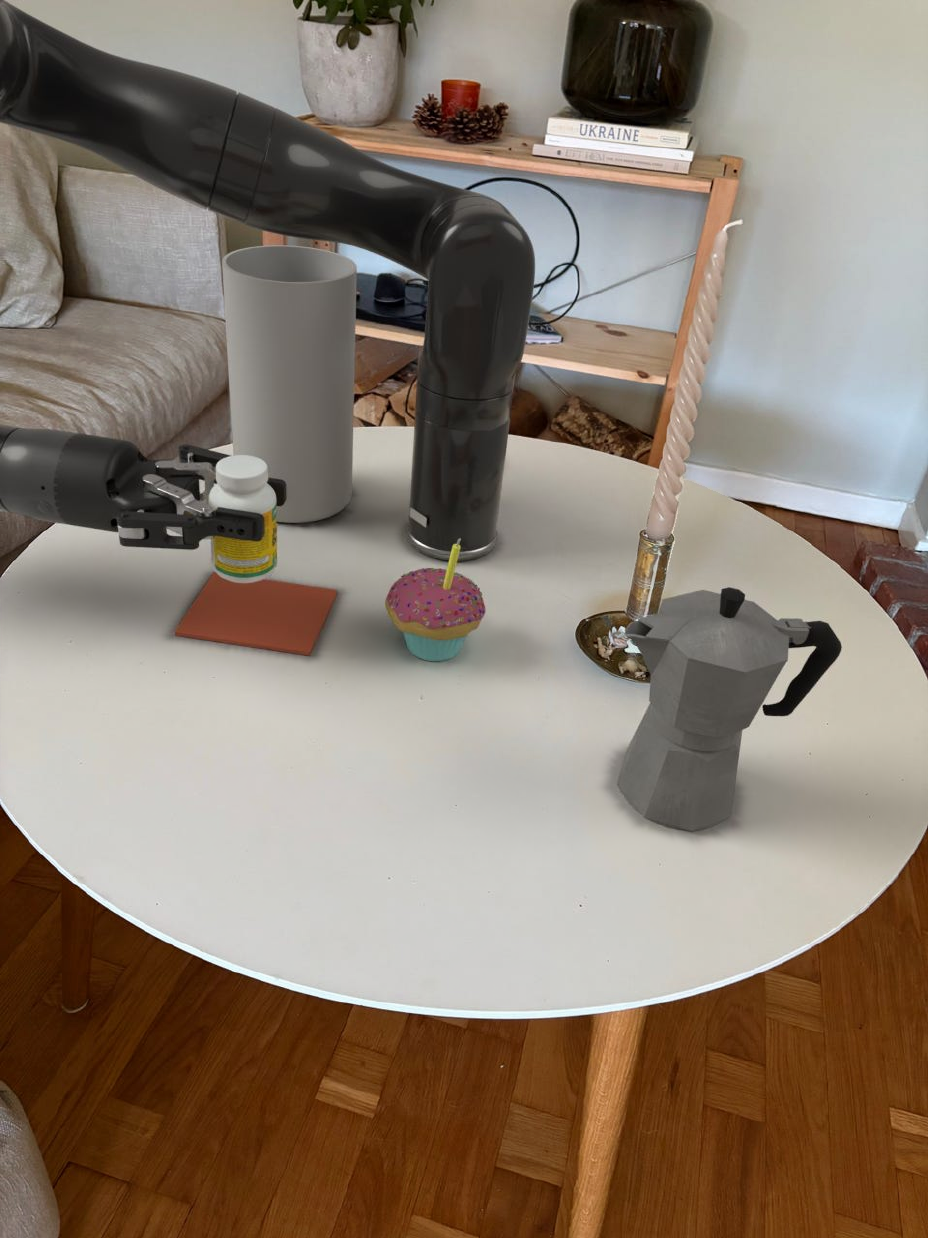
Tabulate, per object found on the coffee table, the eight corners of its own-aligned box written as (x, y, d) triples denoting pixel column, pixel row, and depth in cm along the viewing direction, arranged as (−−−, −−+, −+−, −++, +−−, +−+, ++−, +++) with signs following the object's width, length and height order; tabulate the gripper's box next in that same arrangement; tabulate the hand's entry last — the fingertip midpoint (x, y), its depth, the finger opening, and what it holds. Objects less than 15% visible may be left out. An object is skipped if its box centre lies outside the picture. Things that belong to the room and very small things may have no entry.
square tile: (214, 575, 91) (214, 571, 91) (337, 593, 90) (337, 589, 90) (174, 635, 83) (174, 631, 83) (309, 655, 82) (309, 652, 82)
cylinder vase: (261, 464, 111) (252, 238, 96) (365, 482, 109) (372, 256, 95) (217, 514, 101) (199, 270, 86) (331, 534, 99) (333, 290, 85)
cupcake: (499, 649, 85) (515, 532, 79) (432, 689, 80) (443, 567, 73) (431, 607, 90) (440, 493, 83) (363, 642, 85) (367, 523, 78)
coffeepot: (603, 835, 68) (654, 631, 58) (579, 744, 76) (620, 550, 66) (808, 834, 70) (892, 636, 60) (764, 746, 78) (832, 557, 67)
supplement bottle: (205, 556, 82) (199, 454, 76) (267, 547, 84) (265, 447, 78) (221, 590, 78) (215, 484, 72) (285, 579, 80) (284, 476, 75)
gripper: (20, 476, 70) (245, 511, 69) (106, 402, 82) (299, 431, 81) (36, 562, 75) (248, 596, 74) (115, 481, 86) (299, 509, 85)
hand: (273, 510), depth 77 cm, fingers closed on supplement bottle, 5 cm apart
